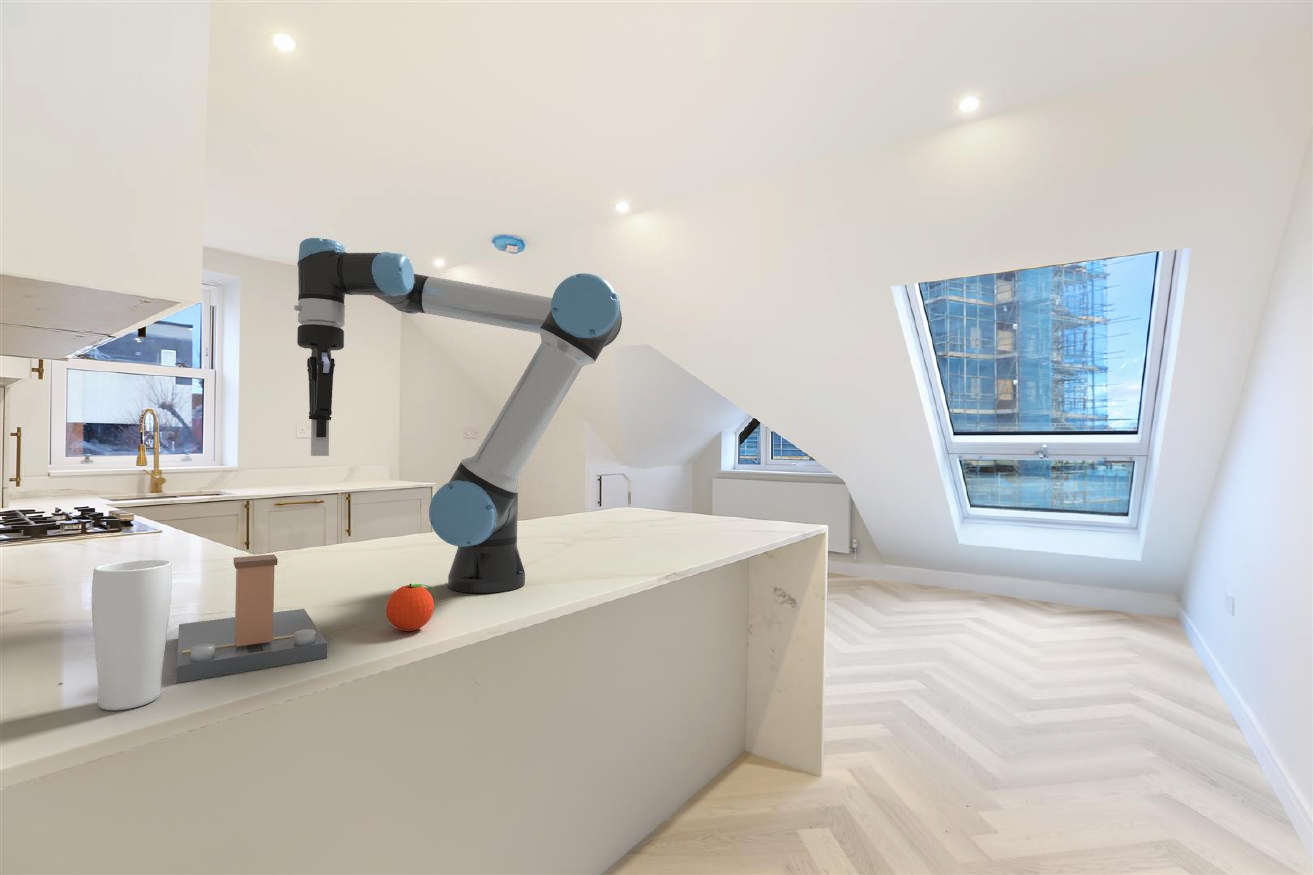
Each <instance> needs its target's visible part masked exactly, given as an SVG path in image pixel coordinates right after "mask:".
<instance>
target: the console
mask: <svg viewBox="0 0 1313 875" xmlns="http://www.w3.org/2000/svg"><path fill="white" fill-rule="evenodd" d="M177 636H178V637H177V639H178V640H177V657H176V658H177V659H176V661H177V662H176V684H180V683H186V682H191V681H198V680H203V679H209V678H216V677H221V676H227V675H234V674H240V673H245V672H250V671H257V670H258V671H259V670H263V669H270V668H275V667H280V666H287V665H292V664H298V663H303V662H310V661H317V660H321V659H322V660H323V659H327V658H328V641H327V640H326V638H325V637H324V635H323V634H322V632H321V631H320V630H319V628H318V627H317V626H316V624H315V622H314V621H313V619H312V617H310V615H309V614H308V612H307V610H306V609H305V608H299V609H298V608H297V609H290V610H283V611H282V610H281V611H273V641H271V642H264V643H258V644H251V645H244V646H237V647H236V643H235V616H233V617H227V618H218V619H217V618H216V619H211V620H202V621H201V620H200V621H194V622H186V623H178V635H177Z"/></svg>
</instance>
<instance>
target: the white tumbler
mask: <svg viewBox="0 0 1313 875" xmlns="http://www.w3.org/2000/svg"><path fill="white" fill-rule="evenodd" d="M172 570H173V569H172V562H171V561H169V560H163V559H142V560H141V559H140V560H129V561H120V562H114V563H108V564H107V563H106V564H102V565H99V566H96V567H95V568H93V570H92V581H91V618H92V630H93V638H94V639H93V641H94V650H95V651H94V652H95V662H96V663H95V664H96V676H97V677H96V678H97V704H98V707H99V708H101V709H102V710H105V711H123V710H125V711H126V710H130V709H134V708H138V707H143V706H145V705H147V704H151V702H153V701H155V700H157V699H158V698H159V697H160V695H161V692H162V684H163V683H162V676H163V668H164V659H165V651H166V643H167V635H168V627H169V621H170V613H171V605H172V594H173V593H172V590H173V573H172Z"/></svg>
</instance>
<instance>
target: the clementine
mask: <svg viewBox="0 0 1313 875" xmlns="http://www.w3.org/2000/svg"><path fill="white" fill-rule="evenodd" d="M424 586H425V587H427V588H428V589H430V590H431V591H432V593H433V595H434V596H436V594H435V590H434V589H433V588H432V587H431V586H429V585H426V584H423V583H421V584H420V583H413V584H412V583H409V584H406V585H402V586H400V587H399V588H397V589H396V590H395V591H393V593H391V595H390V596H389V598H388V600H387V602H386V607H385V614H386V619H387V621H388V622H389V624H391V626H393V628H395V629H397V630H399V631H404V632H413V631H416V630H419V629H421V628H423V627H424V626H425V625H427V623H428V622H429V621H430V620H431V619H432V616H433V614H434V609H435V606H434V605H435V604H434V598H433V596H432V594H431V592H429V590H428V589H426V588H424Z"/></svg>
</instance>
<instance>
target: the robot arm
mask: <svg viewBox="0 0 1313 875" xmlns="http://www.w3.org/2000/svg"><path fill="white" fill-rule="evenodd" d="M298 246H299V248H298V259H297V260H298V261H297V263H296V264H297V268H298V270H297V271H298V272H297V273H298V275H297V276H298V277H297V278H298V294H297V295H298V296H297V297H298V298H297V300H298V301H297V304H296V305H293V309H294V310H293V311H297V312H298V313H297V322H298V323H299V324H300V325H298V327H297V338H296V340H297V341H296V342H297V345H298V347H299V348H303V349H309V350H311V352H310V353H311V355H310V356H309V357H308V358H307V361H306V362H307V363H306V368H307V369H306V370H307V375H308V376H307V377H308V397H309V398H308V399H309V400H308V402H309V406H308V407H309V412H308V419H309V420H310V457H329V454H330V421H332V415H333V411H332V406H333V404H332V403H333V387H334V372H335V367H336V363H335V361H336V360H335V358H334V357H333V358H332V351H340V350H341V351H342V350H343V349H344V346H345V330H344V329H343V327H344V326H345V319H346V318H345V315H346V314H345V310H346V308H345V307H346V306H345V298H346V297H345V296H347V295H349V296H352V295H353V296H355V295H356V296H374V297H375V298H378V299H379V300H380V301H383V302H385V303H386V304H388V305H390V306H391V307H393V308H394V309H396V310H397V311H399V312H403V313H406V314H411V315H413V314H418V313H419V314H426V315H433V316H437V317H438V316H439V317H445V318H449V319H454V320H455V319H456V320H462V321H467V322H472V323H479V324H484V325H490V326H495V327H502V328H505V329H512V330H517V331H523V332H529V333H534V334H539V335H540V339H541V343H540V344H539V346H538V348H537V349H536V352H534V354H533V356H532V358H531V360H530V361H529V363H528V365H527V366H526V368H525V370H524V372H523V373H522V375H521V376H520V378H519V380H518V382H517V384H516V385H515V386H514V388H513V390H512V392H511V393H510V395H509V397H508V399H507V400H506V402H505V404H504V405H503V407H502V408H501V411H500V412H499V414H498V415H497V417H496V419H495V421H494V422H493V424H492V426H491V428H490V429H489V431H488V432H487V434H486V436H485V437H484V439H483V441H482V442H481V444H480V446H479V447H478V449H477V451H476V453H475V455H473V456H470V457H466V458H463V459H462V460H461V461H460V463H459V464H458V466H457V468H456V470H455V471H454V472H453V474H452V476H451V478H450V479H449V481H448V482H447V483H445V484H443V485H442V486H441V487H440V488H438V490H437V491H436V492H435V493H434V495H433V497H431V500H430V502H429V507H428V519H429V522H430V525H431V527H432V530H433V532H435V534H436V535H437V537H439V538H440V539H441V540H442V541H444V542H445V543H447V544H449V545H452V546H454V547H457V549H456V552H455V554H454V558H453V561H452V564H451V567H450V570H449V572H448V576H447V577H448V578H447V588H448V589H450V590H451V591H455V592H461V593H471V594H474V593H475V594H483V593H484V594H485V593H486V594H487V593H500V592H506V591H511V590H512V591H513V590H517V589H519V588H522V587H523V586H524V585H526V572H525V568H524V565H523V562H522V558H521V555H520V551H519V549H518V511H519V510H518V509H519V508H518V507H519V506H518V505H519V504H518V503H519V501H518V500H519V492H520V486H519V479H518V477H519V476H520V473H521V472H522V470H523V468H524V467H525V466H526V463H527V462H528V461H529V459H530V457H531V456H532V453H533V451H534V450H535V448H536V446H537V445H538V443H539V441H540V439H541V438H542V436H543V435H544V433H545V431H546V430H547V428H548V426H549V424H550V423H551V421H552V419H553V418H554V416H555V414H556V412H557V411H558V409H559V407H560V405H561V404H562V402H563V401H564V399H565V397H566V395H567V394H568V392H569V390H570V389H571V387H572V385H573V384H574V383H575V381H576V379H577V377H578V375H579V373H580V372H581V370H582V368H584V367H586V366H588V365H593V364H595V363H596V360H597V359H598V358H599V356H600V354H601V353H602V351H603V349H604V348H606V347H608V346H609V345H610V344H612V343H613V342H614V341H615V340H616V338H618V335H619V334H620V332H621V329H622V324H623V323H622V322H623V317H622V312H621V303H620V297H619V295H618V293H617V292H616V290H615V289H614V287H612V285H611V284H610V283H609V281H607V280H606V279H604V278H603V277H600V276H599V275H596V274H593V273H588V272H587V273H586V272H585V273H582V272H581V273H577V274H573V275H570V276H569V277H566V278H565V279H564V280H562V281H561V282H560V283H559V284H558V286H556V288H555V290H554V293H553V294H552V297H551V296H550V297H549V296H544V295H539V294H533V293H526V292H521V291H516V290H510V289H503V288H498V287H493V286H487V285H481V284H474V283H469V282H463V281H459V280H452V279H446V278H442V277H441V278H440V277H434V276H429V275H423V274H417V273H414V268H413V265H412V263H411V261H410V259H409V257H408V256H407V255H405V254H402V253H397V252H396V253H394V252H390V251H383V252H346V249H345V246H344V244H342V243H340V242H338V241H337V240H332V239H330V238H329V239H328V238H321V237H308V238H305V239H303V240H302V241H301V242H300V244H299V245H298Z"/></svg>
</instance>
